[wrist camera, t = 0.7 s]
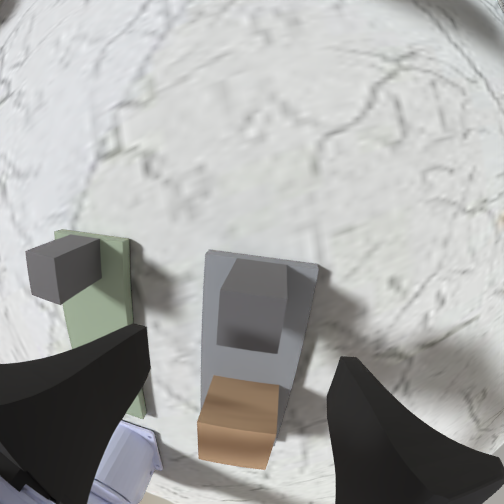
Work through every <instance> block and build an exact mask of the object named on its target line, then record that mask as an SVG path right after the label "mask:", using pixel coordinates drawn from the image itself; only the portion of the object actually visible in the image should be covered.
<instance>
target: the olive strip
mask: <svg viewBox="0 0 504 504" xmlns="http://www.w3.org/2000/svg"><path fill="white" fill-rule="evenodd" d="M54 234H55V240H54V241H51V242H48V243H46V244H43V245H40V246H38V247H35V248H33V249H30V250H27V251H25V252H26V260H27V268H28V275H29V281H30V287H31V293H32V295H34V296H37V297H39V298H42V299H45V300H48V301H50V302H53V303H56V304H59V305H61V304H63V310H64V315H65V320H66V325H67V329H68V334H69V338H70V342H71V346H72V349H74V348H77V347H79V346H82V345H84V344H87V343H89V342H92V341H94V340H96V339H98V338H101V337H103V336H105V335H107V334H109V333H111V332H114V331H116V330H118V329H120V328H123V327H125V326H127V325H130V324H133V312H132V299H131V282H130V249H129V239H128V238H121V237H114V236H106V235H99V234H92V233H85V232H78V231H71V230H64V229H61V230H58V231H55V232H54ZM146 413H147V412H146V407H145V401H144V396H143V390H142V389H141V390H140V392H139V393H138V395H137V397H136V398H135V400H134V401H133V403H132V404H131V406H130V407H129V409H128V411H127V412H126V414H129V415H132V416H135V417H138V418H141V419H144V417H145V415H146Z"/></svg>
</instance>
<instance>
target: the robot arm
mask: <svg viewBox="0 0 504 504" xmlns="http://www.w3.org/2000/svg"><path fill="white" fill-rule="evenodd" d="M150 369H151V366H150V358H149V348H148V337H147V327H145V326H141V325H137V324H130V325H127V326H125V327H123V328H120V329H118V330H116V331H114V332H111V333H109V334H107V335H105V336H103V337H101V338H98V339H96V340H94V341H92V342H89V343H87V344H84V345H82V346H79V347H77V348H74V349H72V350H69V351H66V352H63V353H60V354H57V355H53V356H50V357H46V358H42V359H37V360H32V361H26V362H20V363H11V364H0V504H138V503H139V502H140V501H141V500H142V498H143V496H144V494H145V491H146V489H147V487H148V484H149V482H150V480H151V477H152V475H153V473H154V470H155V469H156V470H160V471H162V470H163V466H162V462H161V459H160V455H159V451H158V446H157V442H156V438H155V434H154V432H153V431H151V430H148V429H145V428H142V427H139V426H136V425H133V424H130V423H127V422H124V421H122V418H123V417H124V415H125V414H126V412H127V411H128V409H129V407H130V406H131V404H132V403H133V401H134V400H135V398H136V397H137V395H138V393H139V392H140V390H141V389H142V387H143V384H144V382H145V380H146V378H147V376H148V373H149V371H150ZM327 419H328V426H329V432H330V438H331V445H332V451H333V457H334V464H335V474H336V501H335V504H482V503H483V502H484V501H486V500H487V499H488V498H489V497H491V496H492V495H493V494H494V493H495V492H496V491H497V490H499V488H501V487H502V485H503V484H504V466H503V464H502V462H501V460H500V458H499V457H496V456H492V455H489V454H486V453H483V452H479V451H476V450H474V449H471V448H469V447H467V446H464V445H462V444H460V443H458V442H456V441H454V440H452V439H450V438H448V437H446V436H445V435H443V434H441V433H440V432H438V431H436V430H435V429H433V428H432V427H430V426H429V425H427V424H426V423H424V422H423V421H422V420H420V419H419V418H418V417H416V416H415V415H414V414H413V413H411V412H410V411H409V410H408V409H407V408H406V407H404V406H403V405H402V404H401V403H400V402H399V401H398V400H397V399H396V398H395V397H394V396H393V395H392V394H391V393H390V392H389V391H388V390H387V389H386V388H385V387H384V386H383V385H382V384H381V383H380V382H379V381H378V380H377V379H376V378H375V377H374V376H373V374H372V373H371V372H370V371H369V370H368V369H367V368H366V367H365V366H364V365H363V364H362V362H361V361H360V360H359V359H358V358H357V357H343V356H341V357H340V360H339V363H338V366H337V369H336V372H335V375H334V378H333V381H332V383H331V386H330V389H329V392H328V394H327Z"/></svg>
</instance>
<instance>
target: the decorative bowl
mask: <svg viewBox="0 0 504 504" xmlns="http://www.w3.org/2000/svg"><path fill="white" fill-rule="evenodd" d="M498 3H499V5H500V7H501V9H502V10H503V12H504V0H498Z"/></svg>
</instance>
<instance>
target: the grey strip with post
mask: <svg viewBox="0 0 504 504" xmlns="http://www.w3.org/2000/svg"><path fill="white" fill-rule="evenodd" d="M318 270H319V268H318V266H317V264H313V263H306V262H298V261H291V260H283V259H276V258H268V257H261V256H253V255H246V254H238V253H231V252H223V251H216V250H209V251H208V252H207V253H206V254H205V269H204V287H203V310H202V340H201V410H202V407H203V404H204V401H205V398H206V395H207V393H208V390H209V387H210V384H211V381H212V378H213V375H216V376H221V377H227V378H233V379H239V380H245V381H252V382H259V383H267V384H275V385H279V398H278V417H277V434H276V438H275V441H274V444H273V446H275V443H276V440H277V437H278V433H279V430H280V427H281V424H282V420H283V417H284V413H285V410H286V407H287V403H288V400H289V396H290V392H291V389H292V385H293V381H294V377H295V374H296V370H297V366H298V362H299V358H300V354H301V350H302V346H303V341H304V337H305V333H306V328H307V324H308V319H309V315H310V310H311V306H312V301H313V296H314V291H315V286H316V281H317V276H318Z"/></svg>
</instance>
